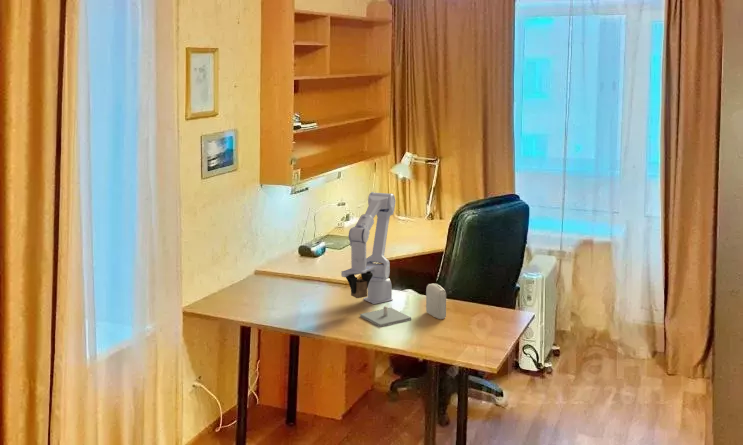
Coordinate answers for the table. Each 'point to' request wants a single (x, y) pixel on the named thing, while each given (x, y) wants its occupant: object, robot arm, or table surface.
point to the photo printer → (436, 301)
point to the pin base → (385, 317)
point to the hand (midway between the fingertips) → (359, 291)
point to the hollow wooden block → (360, 289)
